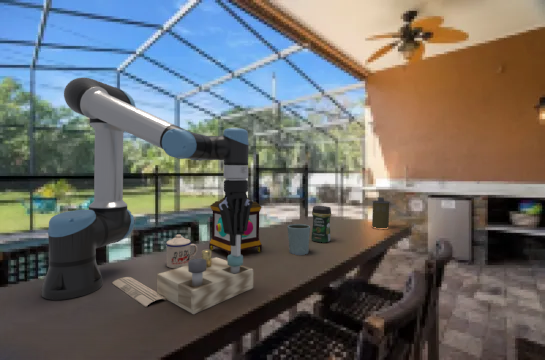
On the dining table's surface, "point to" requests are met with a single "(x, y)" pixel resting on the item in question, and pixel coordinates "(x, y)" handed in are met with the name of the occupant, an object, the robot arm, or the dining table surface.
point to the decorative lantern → (248, 239)
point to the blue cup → (298, 238)
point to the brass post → (207, 257)
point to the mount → (204, 285)
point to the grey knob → (197, 270)
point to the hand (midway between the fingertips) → (235, 255)
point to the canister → (380, 213)
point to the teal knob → (235, 263)
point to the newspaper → (137, 290)
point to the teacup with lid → (179, 252)
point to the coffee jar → (321, 224)
